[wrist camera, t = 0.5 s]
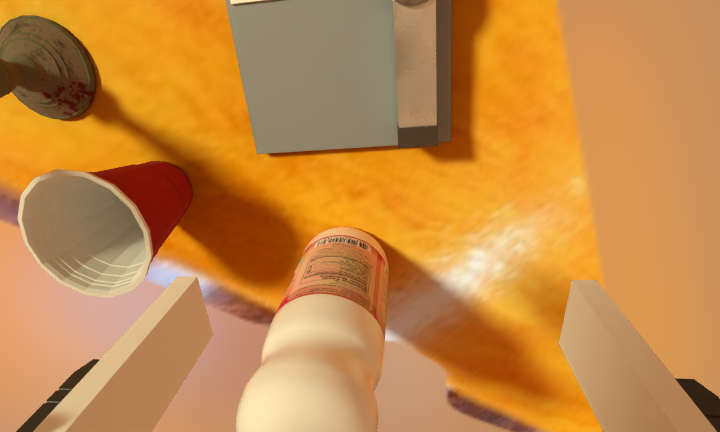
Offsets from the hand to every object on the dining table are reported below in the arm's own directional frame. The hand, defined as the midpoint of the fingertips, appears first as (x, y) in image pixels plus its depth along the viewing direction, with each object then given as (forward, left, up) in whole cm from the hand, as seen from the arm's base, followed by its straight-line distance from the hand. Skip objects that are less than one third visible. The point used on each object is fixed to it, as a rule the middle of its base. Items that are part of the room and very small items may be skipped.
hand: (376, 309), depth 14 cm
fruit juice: (+13, -6, -25) cm, 29 cm away
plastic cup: (+3, -24, -25) cm, 35 cm away
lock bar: (-8, +2, -23) cm, 24 cm away
